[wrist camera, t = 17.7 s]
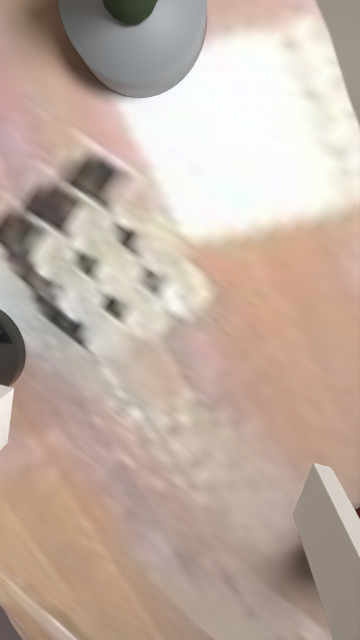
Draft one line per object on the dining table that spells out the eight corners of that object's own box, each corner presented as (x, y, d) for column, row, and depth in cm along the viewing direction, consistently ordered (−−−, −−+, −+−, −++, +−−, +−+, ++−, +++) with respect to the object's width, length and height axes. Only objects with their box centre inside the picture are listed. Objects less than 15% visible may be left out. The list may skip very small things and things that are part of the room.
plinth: (65, 79, 42) (46, 58, 37) (88, -76, 38) (71, -122, 33) (187, 112, 42) (184, 95, 37) (223, -42, 38) (225, -83, 33)
